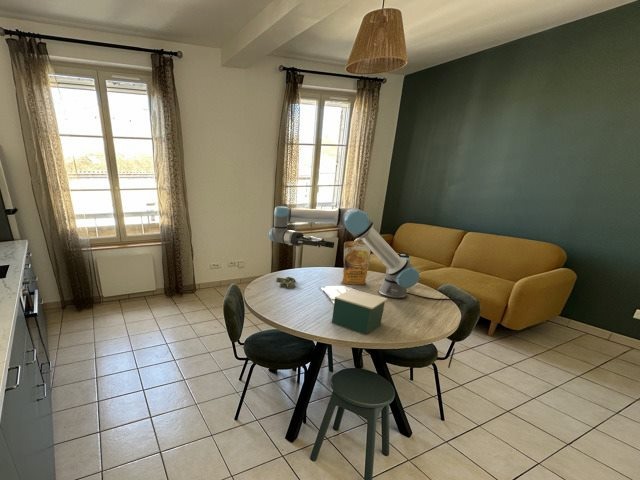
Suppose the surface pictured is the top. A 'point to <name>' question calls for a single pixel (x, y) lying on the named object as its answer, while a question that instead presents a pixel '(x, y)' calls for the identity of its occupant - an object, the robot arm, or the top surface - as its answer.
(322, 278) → the top surface
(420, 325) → the top surface
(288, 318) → the top surface
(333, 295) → the tray
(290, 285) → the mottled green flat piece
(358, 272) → the pancake mix bag
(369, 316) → the tote
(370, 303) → the lid
